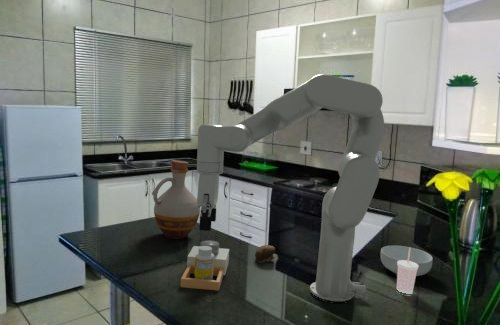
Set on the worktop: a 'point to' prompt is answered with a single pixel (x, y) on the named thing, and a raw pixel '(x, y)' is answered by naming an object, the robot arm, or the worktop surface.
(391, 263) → the cereal bowl
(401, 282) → the beverage cup
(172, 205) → the jug
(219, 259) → the open box with knob
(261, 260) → the mushroom
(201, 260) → the supplement bottle
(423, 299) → the worktop surface
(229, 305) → the worktop surface
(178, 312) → the worktop surface
